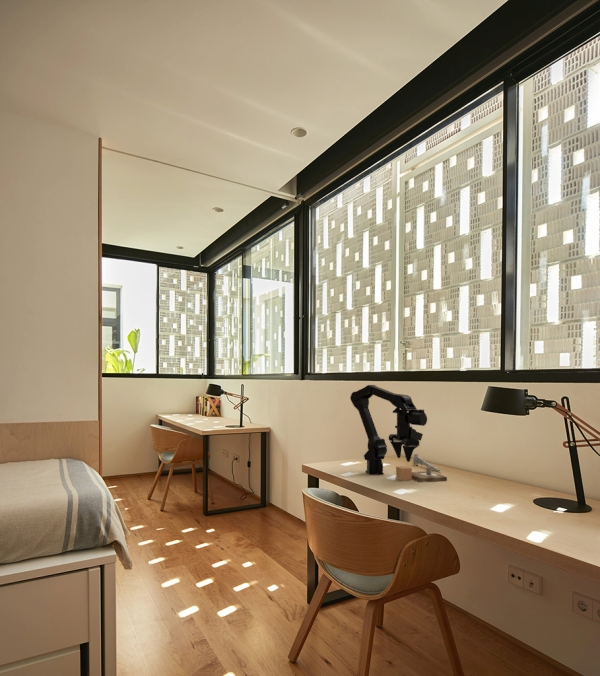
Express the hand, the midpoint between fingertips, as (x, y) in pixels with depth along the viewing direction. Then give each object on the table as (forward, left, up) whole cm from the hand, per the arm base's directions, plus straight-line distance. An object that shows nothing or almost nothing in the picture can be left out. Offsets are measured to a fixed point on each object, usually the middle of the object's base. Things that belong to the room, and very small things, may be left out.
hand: (403, 459), depth 202 cm
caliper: (+22, +20, -9) cm, 31 cm away
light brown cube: (0, 0, -8) cm, 8 cm away
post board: (+11, 0, -8) cm, 13 cm away
